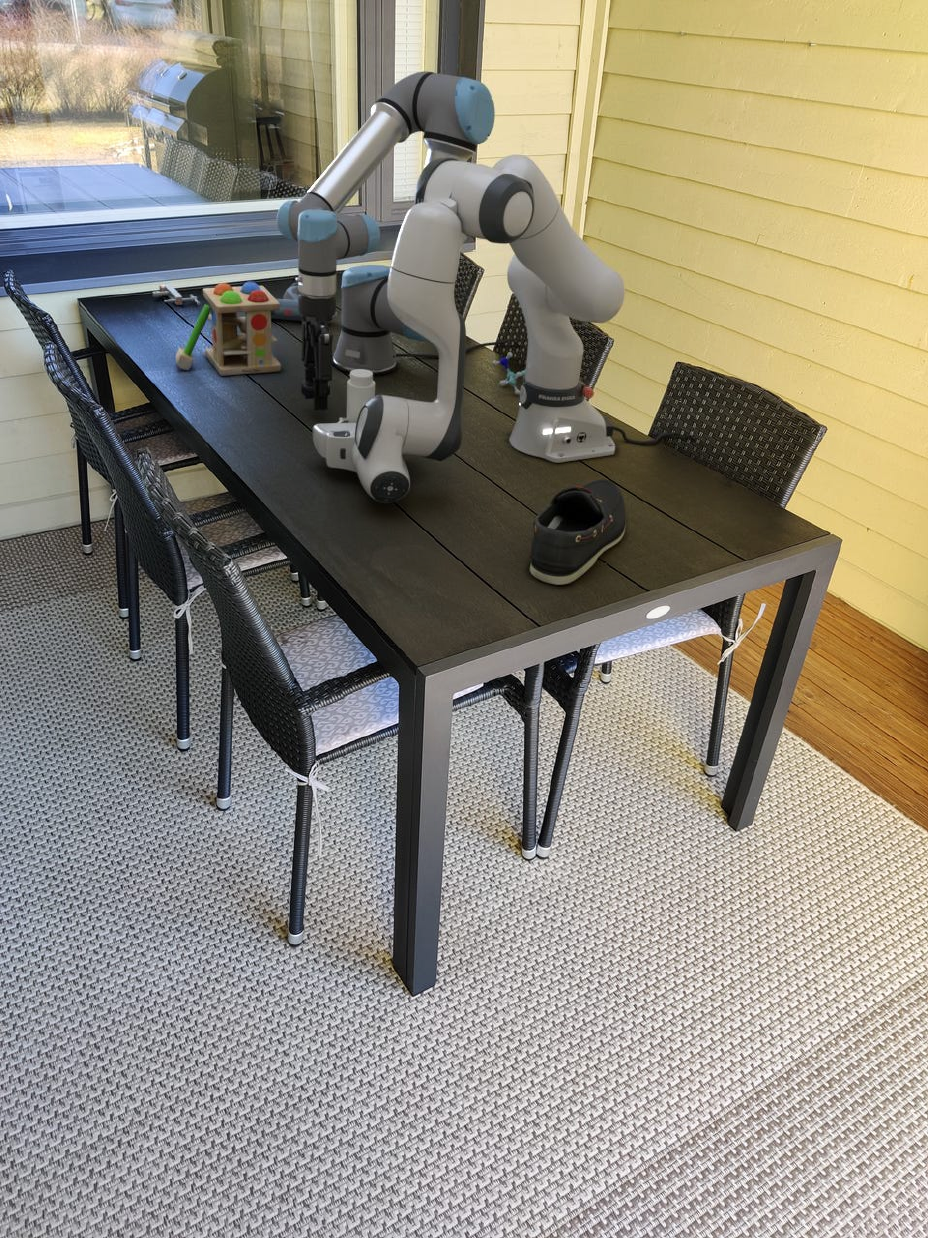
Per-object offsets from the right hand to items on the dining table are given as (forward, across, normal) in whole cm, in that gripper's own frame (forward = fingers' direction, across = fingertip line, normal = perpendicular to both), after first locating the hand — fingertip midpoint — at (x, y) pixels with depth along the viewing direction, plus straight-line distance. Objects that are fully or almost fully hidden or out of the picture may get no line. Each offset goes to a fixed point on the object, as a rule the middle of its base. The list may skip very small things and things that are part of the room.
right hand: (359, 420), depth 195 cm
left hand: (+18, +6, +4) cm, 19 cm away
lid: (+18, +6, -1) cm, 19 cm away
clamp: (+97, +32, +6) cm, 103 cm away
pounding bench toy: (+48, +23, +6) cm, 54 cm away
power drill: (+87, -2, +6) cm, 87 cm away
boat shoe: (-42, -32, +6) cm, 53 cm away
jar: (-1, 0, +6) cm, 6 cm away
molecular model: (+30, -43, +6) cm, 53 cm away
